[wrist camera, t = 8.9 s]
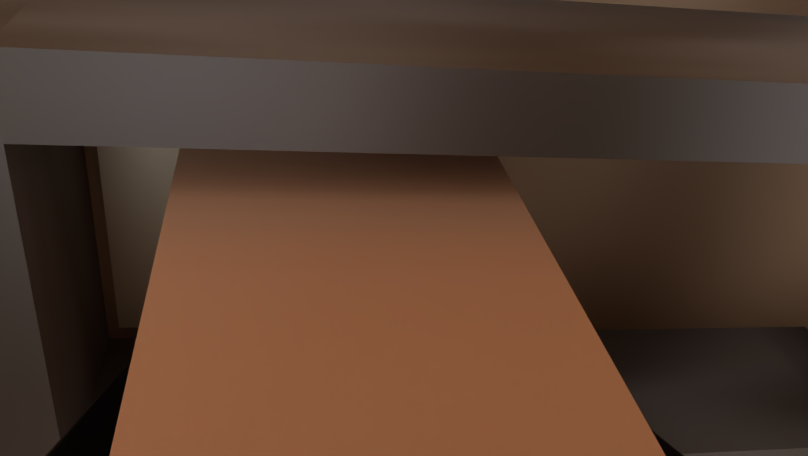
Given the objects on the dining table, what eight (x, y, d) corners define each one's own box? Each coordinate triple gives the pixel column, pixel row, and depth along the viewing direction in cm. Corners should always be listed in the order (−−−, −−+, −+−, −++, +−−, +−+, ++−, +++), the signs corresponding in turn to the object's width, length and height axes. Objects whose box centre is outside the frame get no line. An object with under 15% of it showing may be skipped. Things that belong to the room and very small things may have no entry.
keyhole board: (1337, -52, 13) (1695, 13, 10) (1036, 376, 18) (1205, 514, 15) (-23, -180, 9) (-185, -143, 6) (77, 406, 15) (18, 601, 11)
